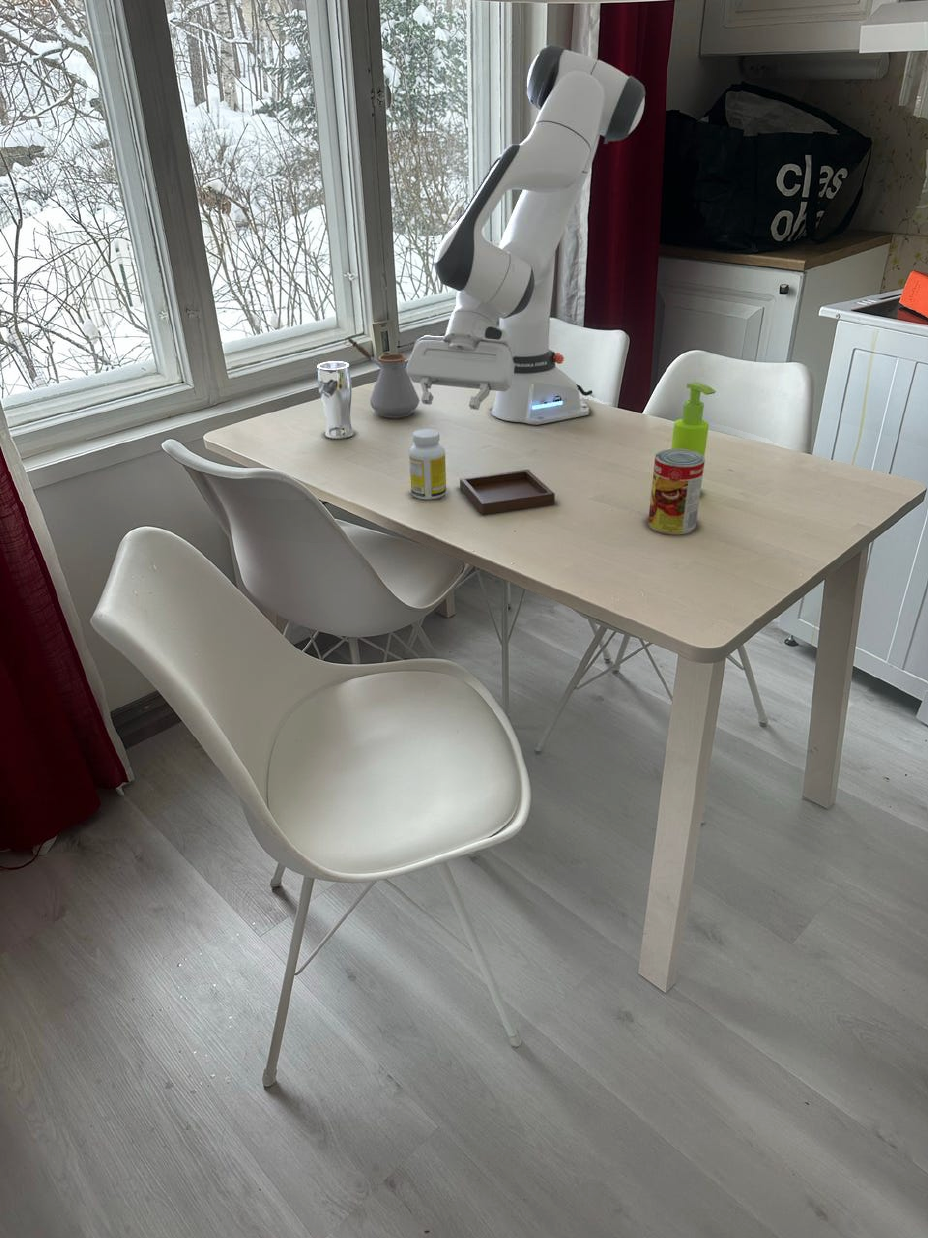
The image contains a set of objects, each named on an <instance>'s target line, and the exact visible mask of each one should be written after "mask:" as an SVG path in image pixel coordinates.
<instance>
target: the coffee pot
mask: <svg viewBox="0 0 928 1238" xmlns="http://www.w3.org/2000/svg"><path fill="white" fill-rule="evenodd" d="M347 342H349V344H346V343H347ZM344 344H345V346H347V347H349V346H351V345H352V347H355V348H356V350H357V351H358V352H359V353H361V354H362V355H364V356H365V357H366V358H367V359H369V360H370V361H372V362H373V363H374V364H375V365H376V366H377V367H378V368H379V369H380V370H379V373H378V376H377V378H376V381H375V385H374V388H373V390H372V393H371V395H370V399H369V404H370V406H371V408H372V409H373V410H374V412H376V413H378V415H379V416H380V417H384V418H387V419H388V418H389V419H397V418H405V417H407V416H410V415H412V413H413V411H415V410H417V408H418V406H419V404H420V397H419V396H418V393H417V391H416V389H415V387H414V385H413V382H412V381H411V379H410V378H409V376H408V374H407V372H406V367H405V361H406V360H407V356H406V355H405V354H403V353H387V354H382V355H379V356H378V357H377V359H376V358H375V357H374V356H373V355H372V354H370V353H369V351H368V350H367V349H365V347H363V346H362V345H360V344H359V343H358V341H356V340H355V341H354V340H353V339H352V338H351V337H348V338H347V339H345V341H344Z"/></svg>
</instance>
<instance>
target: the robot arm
mask: <svg viewBox="0 0 928 1238" xmlns="http://www.w3.org/2000/svg"><path fill="white" fill-rule="evenodd" d="M526 87H527V88H526V95H527V98H528V99H529V100H528V101H529V103H530V104H532V106H533V107H535V108H536V109H537V110H539V113H538V115H537V117H536V119H535V121H534V124H533V127H532V128H531V131H530V132H529V134H528V136H527V137H526V138H525V139H524V140H523V141H522V142H521V143H518V144H517V143H512V144H510V145H508V146H507V147H506V148H505V149H504V150H502V152H501V153H500V154H499V155H498V157H497V158H496V159H495V160H494V162H493V163H492V165H491V166H490V168H489V170H487V172H486V174H485V176H484V177H483V179H482V180H481V182H480V183H479V185H478V187H477V188H476V190H475V191H474V193H473V194H472V196H471V198H470V199H469V200H468V202H467V204H466V206H465V207H464V209H463V210H462V212H461V214H460V215H459V217H458V218H457V220H456V221H455V223H454V224H453V226H452V227H451V229H450V230H449V231H448V233H447V234H446V235H445V236H444V238H443V239H442V240H441V242H440V243H439V245H438V247H437V249H436V252H435V254H434V258H433V266H434V270H435V272H436V275H437V277H438V279H439V281H440V283H441V284H442V285H444V286H446V287H448V288H451V289H453V290H455V291H457V292H456V296H455V307H454V310H453V311H452V313H451V314H450V317H449V320H448V323H447V326H446V330H445V334H444V336H440V335H436V336H433V335H423V336H422V337H419V338H418V339H416V340H415V342H414V345H413V349H412V352H411V354H410V356H409V359H408V361H407V363H406V367H405V370H406V372H407V374H408V376H409V378H410V380H411V383H415V384H420V386H421V389H422V396H421V402H422V404H423V405H429V406H431V405H432V404H433V400H434V395H432V392H430V391H429V389H431V388H432V385H435V386H445V387H456V388H464V389H475V390H479V392H478V393H477V394H476V395H475V396H470V399H469V400H470V401H469V403H468V406H469V409H470V410H474V411H475V410H476V411H479V410H480V407H481V404H482V403H483V401H484V400H485V399H486V398H488V397H489V395H490V393H491V391H494V392H495V391H496V392H495V397H494V398H495V399H494V402H493V405H492V408H491V414H492V416H494V417H495V418H497V419H500V420H503V421H508V422H514V423H525V424H528V425H535V426H537V425H543V424H548V423H554V422H559V421H563V420H568V419H573V418H578V417H584V416H587V415H589V414H590V407H589V406H588V405H587V404H586V403H585V402H584V401H583V400H581V398H580V397H581V396H580V394H581V395H582V396H584V397H585V396H586V397H587V396H589V395H592V394H593V390H588V391H585V390H584V389H583V387H582V386H581V385H579V384H577V383H576V381H574V380H573V379H571V378H570V376H568V375H567V374H566V373H565V372H563V371H562V370H561V369H560V368H558V367H557V366H556V364H558V365H561V364H563V362H564V360H565V356H564V355H563V354H561V353H559V352H557V353H556V352H554V351H553V350H550V323H551V321H550V320H551V308H552V299H553V298H552V297H553V289H554V288H553V287H554V276H555V264H556V250H557V248H558V246H559V243H560V242H561V239H562V237H563V234H564V232H565V230H566V227H567V225H568V223H569V221H570V219H571V216H572V214H573V213H574V210H575V207H576V204H577V202H578V199H579V197H580V194H581V192H582V189H583V187H584V185H585V182H586V179H587V177H588V174H589V172H590V169H591V167H592V164H593V161H594V158H595V155H596V151H597V149H598V145H599V141H600V136H602V137H603V138H604V142H603V145H608V144H609V142H620V141H622V140H625V139H626V138H628V136H629V135H630V134H631V133H633V131H634V130H635V129H636V127H638V125H639V123H640V121H641V119H642V116H643V113H644V110H645V96H646V90H645V85H643V83H642V82H640V81H639V80H638V79H637V78H635V76H633V75H629V76H628V75H627V74H625V73H624V72H622V71H621V70H619V69H618V68H616V67H614V66H613V65H611V64H609V63H607V62H606V61H605V62H604V61H603V60H601V59H595V58H593V57H591V56H587V55H585V54H582V53H580V52H576V51H572V50H568V49H566V47H565V46H561V45H557V44H549V45H547V46H545V47H543V48H541V50H540V52H539V53H538V54H537V55H536V57H535V58H534V60H533V61H532V63H531V65H530V67H529V70H528V74H527V81H526ZM511 190H521V191H522V192H521V194H520V196H519V198H518V201H517V202H516V205H515V207H514V209H513V212H512V214H511V217H510V218H509V222H508V223H507V226H506V228H505V231H504V233H503V236H502V238H501V241H500V244H499V245H497V244H495V243H493V242H492V241H490V240H489V239H487V238H486V237H485V236H484V235H483V228H484V227H485V225H486V224H487V222H488V221H489V219H490V218H491V215H492V214H493V212H494V211H495V209H496V208H497V206H498V204H499V203H500V201H501V199H502V198H503V197H504V195H505V194H506V193H507V192H508V191H511ZM498 321H499V322H498ZM497 322H498V323H499V327H497Z"/></svg>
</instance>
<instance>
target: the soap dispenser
mask: <svg viewBox="0 0 928 1238" xmlns="http://www.w3.org/2000/svg"><path fill="white" fill-rule="evenodd" d="M686 388H689V389H690V391H689V392H690V393H689V399H688V400H686V401H685V402H683V407H682V408H683V409H682V418H679V419H676V420H675V421H674V422H673V430H672V439H671V448H670V449H685V450H691V451H695V452H697V453H700V454H701V455H703V456H704V457H705V455H706V448H707V442H708V441H707V439H708V434H709V433H708V432H709V426H710V424H709V422H708V421H706V420H704V419H703V415H704V407H705V404H704V402H702V401H701V400H700V399H701V393H703V394H704V395H712V394H713V395H714V394H716V392H717V391H716V390H715V389H714V388H712V387H711V386H709V385H707V384H705V383H700V382H696V381H695V382H689V383H686Z"/></svg>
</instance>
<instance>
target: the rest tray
mask: <svg viewBox="0 0 928 1238" xmlns="http://www.w3.org/2000/svg"><path fill="white" fill-rule="evenodd" d="M459 490H460V491H461V492H462V493H463V494H464V495H465V497H466V498H467V499H468V500H469V501H470V502H471V503H472V505H473V506H474V507H475V508H476V509H477V511H478V512H479V513H480V514H481V515H482V516H484V515H486V516H487V515H492V514H498V513H504V512H511V511H518V510H519V511H520V510H525V509H531V508H532V509H533V508H538V507H539V508H540V507H546V506H552V505H555V492H553V490H551V488H549V487H548V486H547V485H546V484H545V483H544V482H542V480H540V479H539V478H538V477H537V476H536V475H535V474H533V472H531V470H530V469H521V470H515V471H506V472H500V473H492V474H485V475H478V476H470V477H462V478H459Z"/></svg>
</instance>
